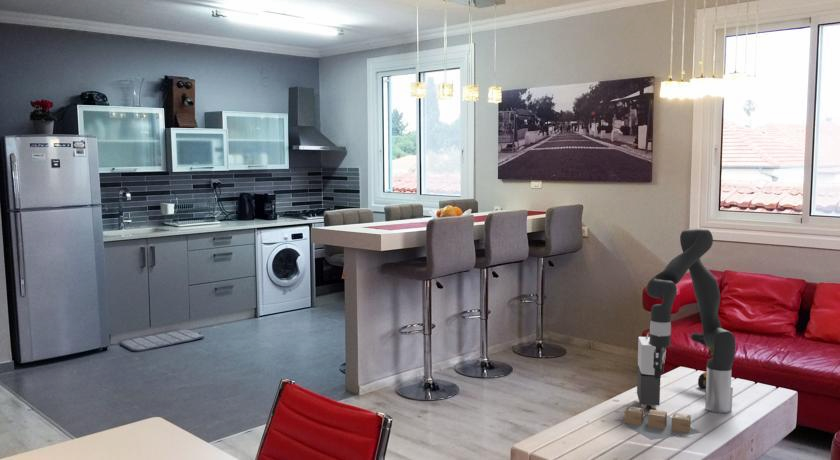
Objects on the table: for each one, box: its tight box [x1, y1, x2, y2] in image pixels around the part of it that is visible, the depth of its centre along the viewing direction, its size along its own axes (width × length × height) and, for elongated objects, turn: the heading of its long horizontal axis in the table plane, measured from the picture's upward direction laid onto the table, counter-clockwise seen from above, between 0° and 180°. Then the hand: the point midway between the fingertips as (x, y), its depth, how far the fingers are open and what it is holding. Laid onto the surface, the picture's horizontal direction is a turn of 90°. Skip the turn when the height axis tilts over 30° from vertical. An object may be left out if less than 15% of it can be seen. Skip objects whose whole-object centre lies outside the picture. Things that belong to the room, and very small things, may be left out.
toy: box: [636, 331, 661, 410], centre depth 298 cm, size 15×7×30 cm, turn 168°
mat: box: [615, 414, 702, 441], centre depth 275 cm, size 22×22×1 cm
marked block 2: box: [671, 412, 692, 433], centre depth 271 cm, size 6×6×5 cm
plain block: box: [647, 409, 668, 430], centre depth 274 cm, size 6×6×5 cm
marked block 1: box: [624, 405, 645, 426], centre depth 278 cm, size 6×6×5 cm
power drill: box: [689, 332, 714, 390], centre depth 324 cm, size 8×21×25 cm, turn 32°
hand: (658, 375), depth 273 cm, fingers open, 7 cm apart
